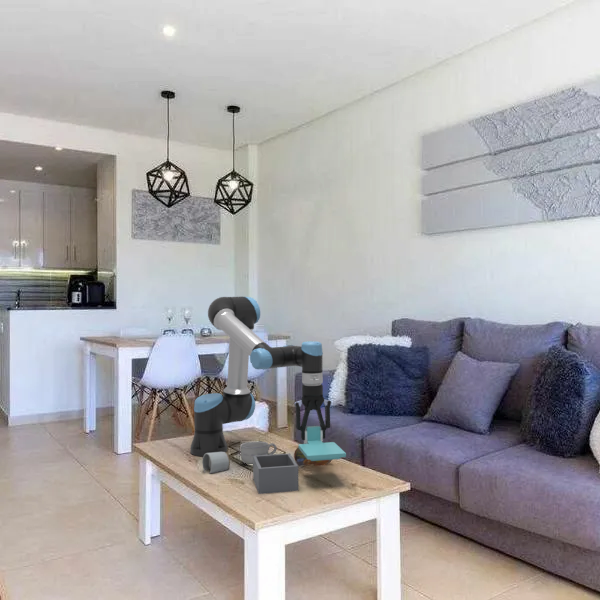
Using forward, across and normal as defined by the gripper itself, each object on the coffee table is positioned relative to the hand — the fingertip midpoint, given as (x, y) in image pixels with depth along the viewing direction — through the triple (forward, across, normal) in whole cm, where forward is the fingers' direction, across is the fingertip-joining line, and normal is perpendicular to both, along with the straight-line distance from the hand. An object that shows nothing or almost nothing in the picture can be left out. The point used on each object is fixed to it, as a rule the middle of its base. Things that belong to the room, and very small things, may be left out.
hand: (313, 448), depth 200 cm
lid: (-1, 0, -10) cm, 10 cm away
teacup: (+9, -18, +15) cm, 25 cm away
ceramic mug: (+9, -35, +10) cm, 38 cm away
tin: (+9, +2, +8) cm, 13 cm away
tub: (+9, -16, -12) cm, 22 cm away
